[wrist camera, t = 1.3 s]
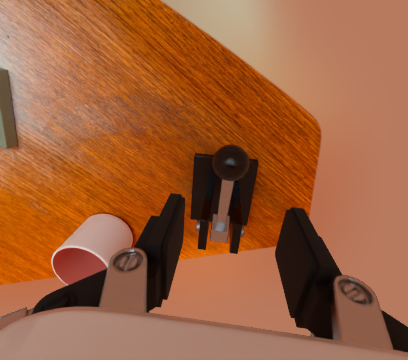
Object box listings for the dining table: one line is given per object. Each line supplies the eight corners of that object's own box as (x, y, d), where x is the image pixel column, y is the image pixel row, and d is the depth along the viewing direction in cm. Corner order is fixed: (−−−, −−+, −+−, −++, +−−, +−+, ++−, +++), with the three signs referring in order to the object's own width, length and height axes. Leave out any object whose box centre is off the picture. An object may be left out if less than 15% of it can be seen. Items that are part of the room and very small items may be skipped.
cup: (142, 248, 47) (121, 290, 38) (98, 254, 49) (69, 295, 40) (123, 206, 43) (95, 242, 34) (77, 214, 45) (39, 250, 36)
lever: (215, 135, 20) (211, 161, 18) (252, 139, 20) (252, 165, 18) (208, 221, 32) (205, 243, 30) (231, 224, 32) (230, 246, 30)
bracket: (195, 153, 37) (180, 188, 26) (257, 159, 37) (270, 199, 25) (191, 215, 42) (177, 268, 31) (246, 221, 42) (252, 278, 30)
